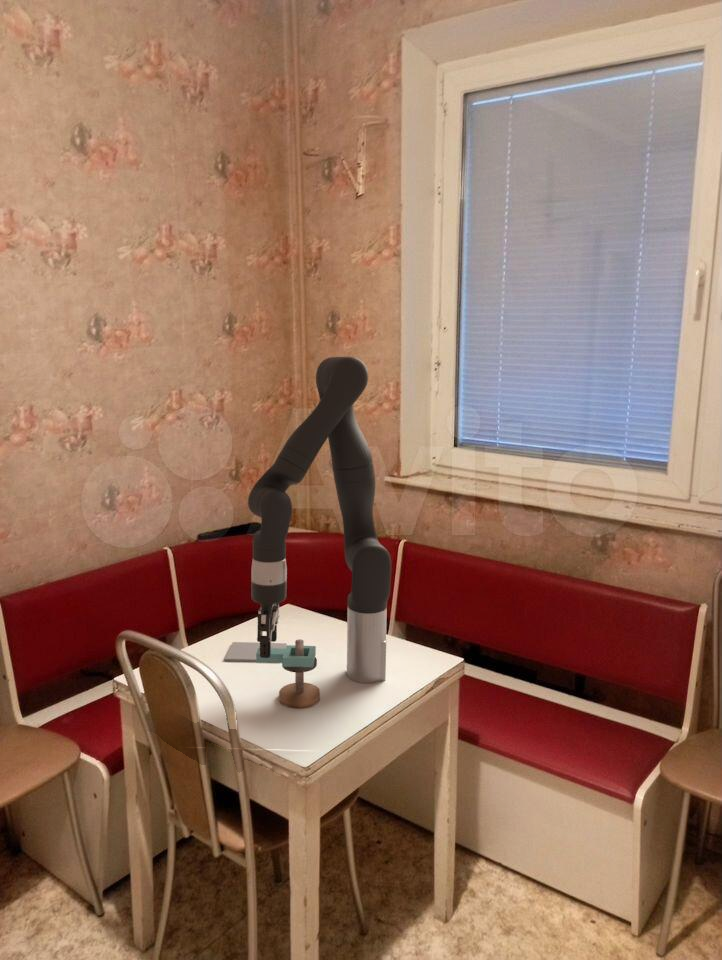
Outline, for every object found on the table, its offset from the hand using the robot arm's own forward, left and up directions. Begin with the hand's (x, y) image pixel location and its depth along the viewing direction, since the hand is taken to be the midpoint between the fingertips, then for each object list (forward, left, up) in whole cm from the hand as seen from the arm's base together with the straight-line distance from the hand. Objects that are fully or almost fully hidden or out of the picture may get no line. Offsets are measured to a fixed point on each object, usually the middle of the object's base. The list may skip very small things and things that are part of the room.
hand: (268, 648), depth 155 cm
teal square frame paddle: (-4, 0, -3) cm, 5 cm away
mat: (+7, -22, -12) cm, 26 cm away
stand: (-7, 0, -12) cm, 13 cm away
